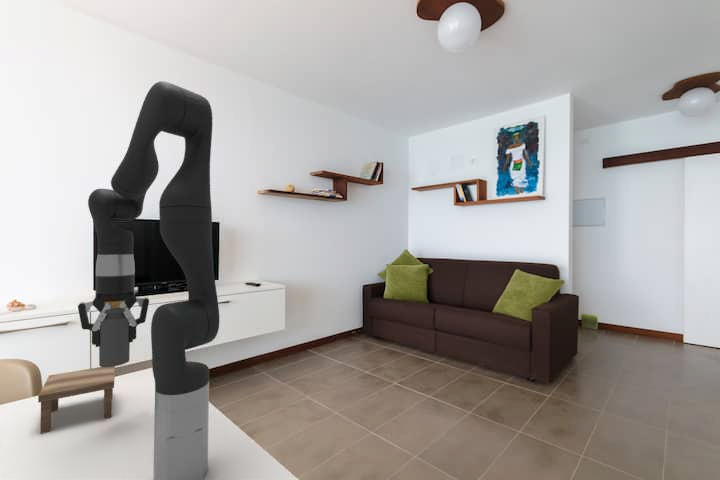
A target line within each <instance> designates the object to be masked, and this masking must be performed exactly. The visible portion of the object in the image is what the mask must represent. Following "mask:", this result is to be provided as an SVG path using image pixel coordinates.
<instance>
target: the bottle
mask: <svg viewBox="0 0 720 480" xmlns="http://www.w3.org/2000/svg"><path fill="white" fill-rule="evenodd" d="M125 301H126V300H118V301H106V302H104V304H106V303H109V305H110V307H111V308H110V309H108V310H105V312H104V313H105V314H107V315H106V317H105V318H104V320H103V321H102V322H101V325H100V327H99V330H100V339H99V347H98V351H99V352H98V358H99V359H98V360H99V362H98V363H99V364H98V365H99V367H113V366H115V367H119V366H122V365H124V364H128V363H129V362H130V346H131V345H130V344H131V342H130V343H129V329H130V323H129V321H128V319H127V318H126V316H125V315H124V314H123V312H125V311H126V310H125V309H124V308H120V304H121V302H125Z"/></svg>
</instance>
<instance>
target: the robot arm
mask: <svg viewBox="0 0 720 480" xmlns="http://www.w3.org/2000/svg"><path fill="white" fill-rule="evenodd" d="M212 110H213V109H212V106H211V104H210V102H209V100H208V99H207V97H204V96H202V95H201V94H199V93H196V92H193V91H191V90H189V89H186V88H183V87H181V86H178V85H176V84H173V83H171V82H168V81H163V80H162V81H161V80H160V81H157V82H155V83H154V84H153V85H152V86H151V87H150V89H149V90H148V92H147V94H146V95H145V97H144V100H143V103H142V105H141V108H140V110H139V113H138V116H137V119H136V122H135V127H134V128H133V132H132V135H131V139H130V142H129V145H128V148H127V150H126V153H125V155H124V156H123V158H122V161H121V162H120V163H119V166H118V167H117V169H116V170H115V172H114V174H113V176H112V177H111V180H110V186H111V188H112V189H109V188H96V189H94V190H93V191H92V192H91V193H90V194H89V196H88V200H87V206H88V210H89V213H90V215H91V218H92V222H93V225H94V228H95V232H96V237H97V256H96V257H97V258H96V261H95V297H94V299H93V301H87V302H83V301H81V302H80V303H78V305H77V309H78V314H79V315H78V316H79V320H80V326H81V329H82V330H89V331H91V344H92V345H93V346H95V348H99V339H100V330H99V327H100V325H101V322H102V321H103V320H104V318H105V317H106V315H107V314H105V313H104V312H105V310H108V309H110V308H111V307H110V305H109V303H106V304H104V302H106V301H118V300H126V301H125V302H121V304H120V308H124V309H125V310H126V311H125V312H123V314H124V315H125V316H126V318H127V319H128V321H129V323H130V329H129V343H130V344H131V343H133V342H134V340H136V339H137V326H138V325H141V324H144V323H146V320H147V315H148V310H149V304H150V300H149V298H148V297H137V295H136V294H135V275H136V274H135V272H136V269H135V266H136V265H135V258H134V246H135V245H134V241H135V240H134V239H135V238H134V234H133V232H132V231H130V230H127V229H123V228H118V227H116V225H114V223H113V222H112V220H119V221H121V220H122V221H133V220H136V219H137V218H139V217H140V216H141V215H142V213H143V209H144V202H145V198H146V194H147V191H148V190H149V189H150V187H151V186H152V185H153V184H154V182H155V180H156V179H157V177H158V174H159V168H160V166H159V165H160V164H159V161H158V156H157V151H156V148H155V139H156V138H157V136H158V135H159V134H160V133H161V132H163V133H167V134H170V135H174V136H178V137H180V138H184V142H185V143H184V146H185V147H184V148H185V149H184V156H183V160H182V163H181V165H180V167H179V169H178V170H177V172H175V174H174V175H173V177H172V178H171V180H170V181H169V182H168V183H167V185H166V186H165V188H164V189H163V192H162V193H161V195H160V198H159V205H158V206H159V211H158V213H159V232H160V233H159V234H160V235H161V238H162V240H163V242H164V244H165V245H166V248H167V249H168V251H169V252H170V254H171V255H172V256H173V257H174V259H175V261H176V262H177V263H178V264H179V267H180V268H181V269H182V272H183V274H184V276H185V280H186V283H187V285H186V286H187V291H188V300H187V299H186V300H182V301H174V302H169V303H164V304H161V305H160V306H157V308H156V309H155V311H154V312H153V314H152V318H151V324H150V340H151V359H152V361H151V363H152V368H151V369H152V374H153V378H154V419H153V420H154V422H153V423H154V425H153V427H154V429H153V433H154V434H153V475H152V476H153V477H152V478H153V480H204V476H205V475H206V473H207V472H208V470H209V469H208V468H209V467H208V466H209V465H208V464H209V410H210V409H209V406H210V405H209V404H210V403H209V401H210V368H209V367H208V365H207V364H205V363H203V362H199V361H187V357H186V351H187V350H190V349H194V348H197V347H200V346H204V345H207V344H209V343H211V342H213V341H214V340H215V338H216V337H217V336H218V333H219V330H220V329H219V328H220V307H219V302H218V293H217V287H216V285H217V284H216V280H215V270H214V255H213V219H212V218H213V217H212V216H213V215H212V213H213V211H212V199H211V198H212V197H211V154H212V153H211V151H212V137H213V136H212V135H213V111H212ZM136 303H137V304H138V306H139V308H140V313H139V317H138V318H135V317H134V314H133V313H132V311H131V309H132V308H133V307H134V305H135V304H136ZM92 307H94V308H95V309H96V310H97V311H98V312H99V314H98V316H97V318H96V320H95V322H94V323H93V322H92V323H91V322H90V321H89V316H88V315H89V314H88V312H90V311H91V308H92Z"/></svg>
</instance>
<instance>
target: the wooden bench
mask: <svg viewBox="0 0 720 480" xmlns="http://www.w3.org/2000/svg"><path fill="white" fill-rule="evenodd" d="M115 373H116V366H113V367H101V366H99V367H93V368H87V369H82V370H81V369H80V370H73V371H69V372H62V373H61V372H60V373H56V374H50V375H48V376H47V379H46V381H45V382H44V384H43V386H42V387H41V390H40V392H39V393H38V397H37V399H38V401H37V402H38V404H39V403H40V426H39V427H40V428H39V429H40V431H39V433H40V434H45V433H49V432H51V429H52V413H54V412H58V410H59V399H64V398H69V397H74V396H79V395H84V394H90V393H95V392H99V391H103V419H105V420H106V419H108V418H112V415H113V411H112V410H113V397H114V396H113V395H114V393H113V391H114V389H115V378H116V376H115Z"/></svg>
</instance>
